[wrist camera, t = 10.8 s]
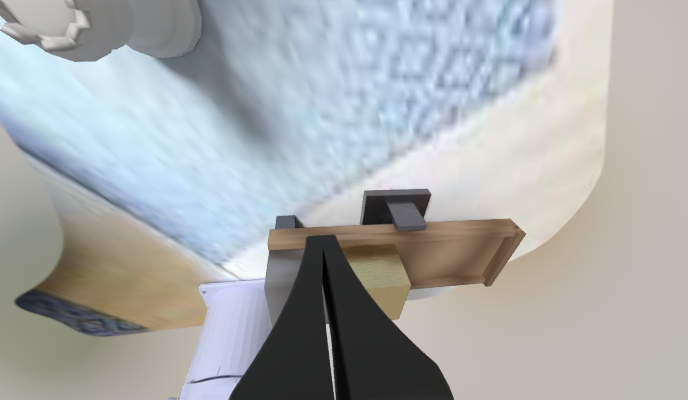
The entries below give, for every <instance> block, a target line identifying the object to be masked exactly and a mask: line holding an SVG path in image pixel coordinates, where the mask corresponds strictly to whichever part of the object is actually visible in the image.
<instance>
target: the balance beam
mask: <svg viewBox="0 0 688 400" xmlns="http://www.w3.org/2000/svg"><path fill="white" fill-rule="evenodd" d="M425 223H426V224H427V226H426V229H425V230H411V231H396V229H395V226H394V224H381V225H359V226H337V227H315V228H293V229H271V230H270V232H269V238H268V250H269V256H268V263H267V271H266V278H265V285H264V290H265V295H266V300H267V304H268V309H269V314H270V319H271V323H272V328H273V327H274V325H275V323H276V321H277V319H278V317H279V315H280V313H281V311H282V309H283V307H284V305H285V303H286V301H287V299H288V296H289V294H290V292H291V289H292V287H293V284H294V282H295V279H296V277H297V274H298V271H299V268H300V265H301V262H302V258H303V254H304V250H305V244H306V237H308V236H316V235H335V236H336V237H337V240H338V242H339V245H340V247H350V246H366V245H383V244H395V247H396V249H397V252H398V254H399V257H400V259H401V261H402V264H403V266H404V269H405V271H406V274H407V276H408V278H409V281H410V283H411V287H410V289H421V288H433V287H444V286H456V285H467V284H478V283H483V284H484V285H485V286H491V285H492V284H493V282H494V281H495V279H496V278H497V276H498V275H499V273H500V272H501V270H502V269H503V267H504V266H505V265H506V263H507V262H508V260H509V259H510V257H511V256H512V254H513V253H514V251H515V250H516V248H517V247H518V245H519V244H520V242H521V241H522V239H523V238H524V237H525V235H526V233H525V232H524V231H522V230H521V229H520V228H519V227H518V226H517V225H516V224H515V223H514V222H513V221H512V220H511V219H490V220H469V221H447V222H425ZM322 293H323V303H324V314H325V323H326V324H329V321H328V315H327V309H326V303H325V297H324V291H323V285H322Z"/></svg>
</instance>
